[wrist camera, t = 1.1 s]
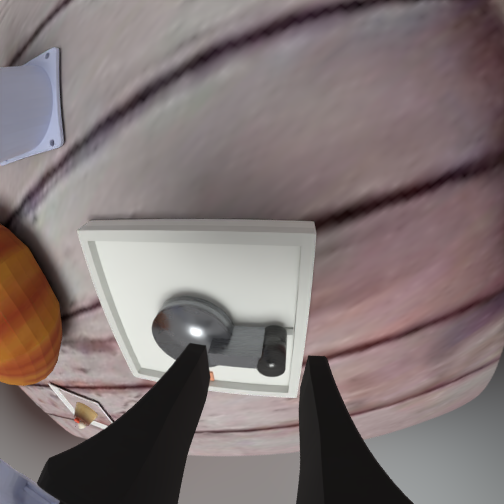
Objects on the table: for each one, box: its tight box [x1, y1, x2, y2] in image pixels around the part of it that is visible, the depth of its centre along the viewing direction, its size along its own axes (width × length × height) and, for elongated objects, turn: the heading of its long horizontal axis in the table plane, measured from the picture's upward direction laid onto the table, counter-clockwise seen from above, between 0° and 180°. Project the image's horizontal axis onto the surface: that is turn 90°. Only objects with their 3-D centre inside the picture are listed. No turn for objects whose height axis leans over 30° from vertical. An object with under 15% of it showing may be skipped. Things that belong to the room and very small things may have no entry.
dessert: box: [48, 383, 113, 429], centre depth 36 cm, size 12×12×5 cm
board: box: [77, 219, 316, 398], centre depth 21 cm, size 16×16×2 cm
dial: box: [152, 296, 287, 377], centre depth 19 cm, size 10×6×3 cm, turn 92°
